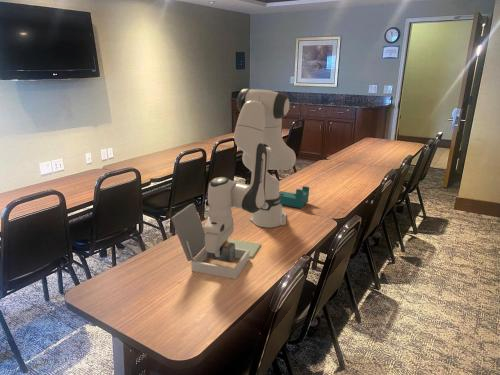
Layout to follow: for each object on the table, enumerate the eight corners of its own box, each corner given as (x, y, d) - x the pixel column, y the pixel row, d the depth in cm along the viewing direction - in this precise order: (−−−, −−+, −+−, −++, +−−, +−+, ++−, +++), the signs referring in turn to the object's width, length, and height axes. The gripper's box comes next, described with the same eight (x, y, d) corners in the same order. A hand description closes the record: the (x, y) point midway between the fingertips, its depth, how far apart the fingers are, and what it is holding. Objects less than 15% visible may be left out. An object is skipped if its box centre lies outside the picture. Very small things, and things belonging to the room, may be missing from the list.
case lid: (208, 242, 149) (205, 243, 149) (193, 203, 145) (190, 203, 146) (191, 260, 134) (187, 261, 135) (174, 217, 131) (170, 218, 131)
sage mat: (218, 239, 162) (218, 237, 162) (260, 245, 156) (260, 243, 156) (207, 250, 151) (207, 249, 151) (252, 258, 145) (252, 256, 145)
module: (212, 252, 143) (212, 238, 142) (235, 257, 140) (234, 242, 138) (207, 257, 140) (206, 243, 138) (230, 262, 136) (229, 247, 134)
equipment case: (204, 251, 151) (203, 224, 147) (249, 258, 145) (249, 231, 141) (186, 270, 136) (185, 241, 132) (235, 279, 130) (235, 249, 127)
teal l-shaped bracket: (307, 204, 209) (309, 187, 207) (300, 208, 200) (302, 190, 197) (280, 199, 218) (281, 182, 215) (272, 202, 208) (273, 185, 206)
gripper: (223, 209, 145) (223, 239, 149) (201, 229, 127) (202, 263, 131) (237, 211, 143) (237, 242, 147) (217, 231, 125) (218, 266, 129)
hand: (221, 252), depth 139 cm, fingers closed on module, 5 cm apart
